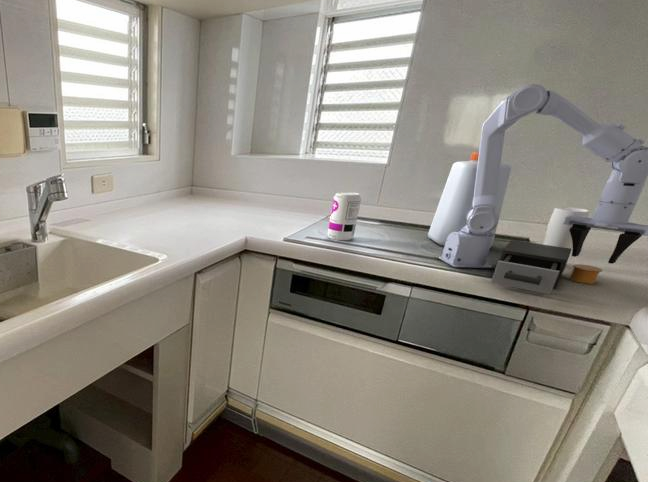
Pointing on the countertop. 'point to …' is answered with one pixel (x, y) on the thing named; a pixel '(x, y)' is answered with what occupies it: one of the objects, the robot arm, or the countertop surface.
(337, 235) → the supplement can
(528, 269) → the pod drawer
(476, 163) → the plastic bottle
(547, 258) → the black drawer unit
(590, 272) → the cylinder
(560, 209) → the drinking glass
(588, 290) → the countertop surface
